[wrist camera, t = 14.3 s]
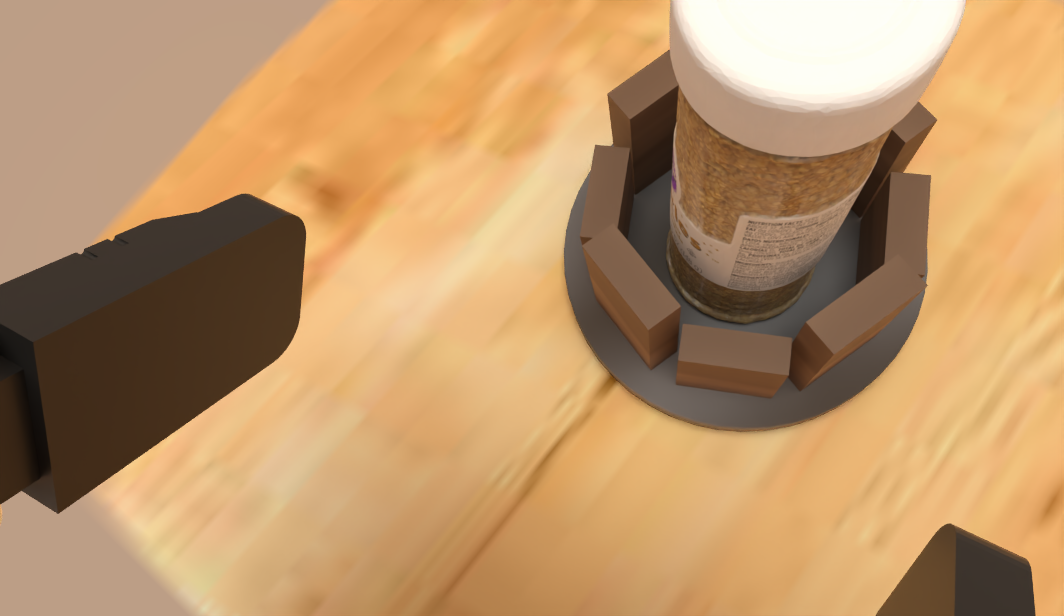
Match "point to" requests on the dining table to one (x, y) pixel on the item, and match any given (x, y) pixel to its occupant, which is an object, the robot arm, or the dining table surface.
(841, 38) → the sprinkles bottle
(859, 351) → the castellated collar
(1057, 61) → the dining table surface
